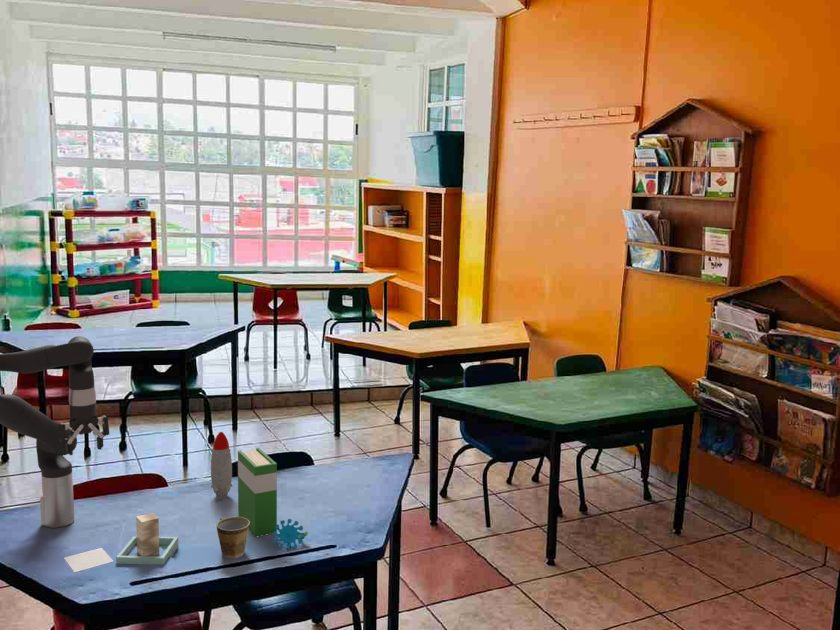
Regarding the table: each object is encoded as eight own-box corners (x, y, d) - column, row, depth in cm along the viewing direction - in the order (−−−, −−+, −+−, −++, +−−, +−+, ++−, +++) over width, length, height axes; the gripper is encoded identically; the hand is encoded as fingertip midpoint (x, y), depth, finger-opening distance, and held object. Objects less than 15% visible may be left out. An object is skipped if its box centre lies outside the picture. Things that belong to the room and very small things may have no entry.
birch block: (142, 559, 222) (141, 522, 221) (137, 553, 226) (136, 516, 224) (159, 555, 226) (158, 518, 224) (153, 549, 229) (152, 512, 228)
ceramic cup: (256, 554, 230) (255, 524, 229) (227, 564, 223) (227, 533, 222) (234, 540, 239) (234, 510, 238) (206, 549, 232) (205, 519, 231)
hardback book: (238, 517, 257) (237, 450, 253) (258, 512, 260) (258, 447, 257) (255, 537, 242) (254, 467, 238) (276, 532, 246) (276, 463, 242)
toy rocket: (224, 490, 279) (224, 426, 275) (236, 497, 274) (235, 432, 270) (206, 495, 274) (205, 430, 270) (218, 502, 268) (217, 436, 264)
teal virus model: (272, 547, 231) (274, 517, 237) (269, 554, 236) (272, 523, 242) (307, 549, 234) (308, 519, 240) (304, 555, 239) (305, 525, 245)
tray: (116, 568, 219) (115, 557, 219) (134, 546, 233) (133, 535, 232) (163, 569, 219) (163, 558, 219) (178, 547, 233) (178, 537, 233)
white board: (74, 577, 213) (74, 572, 213) (63, 562, 221) (63, 557, 221) (113, 565, 220) (113, 561, 220) (101, 552, 229) (101, 547, 228)
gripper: (61, 408, 220) (64, 460, 223) (110, 400, 229) (112, 450, 232) (54, 402, 226) (57, 453, 228) (102, 395, 235) (105, 444, 237)
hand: (85, 451), depth 230 cm, fingers open, 8 cm apart
